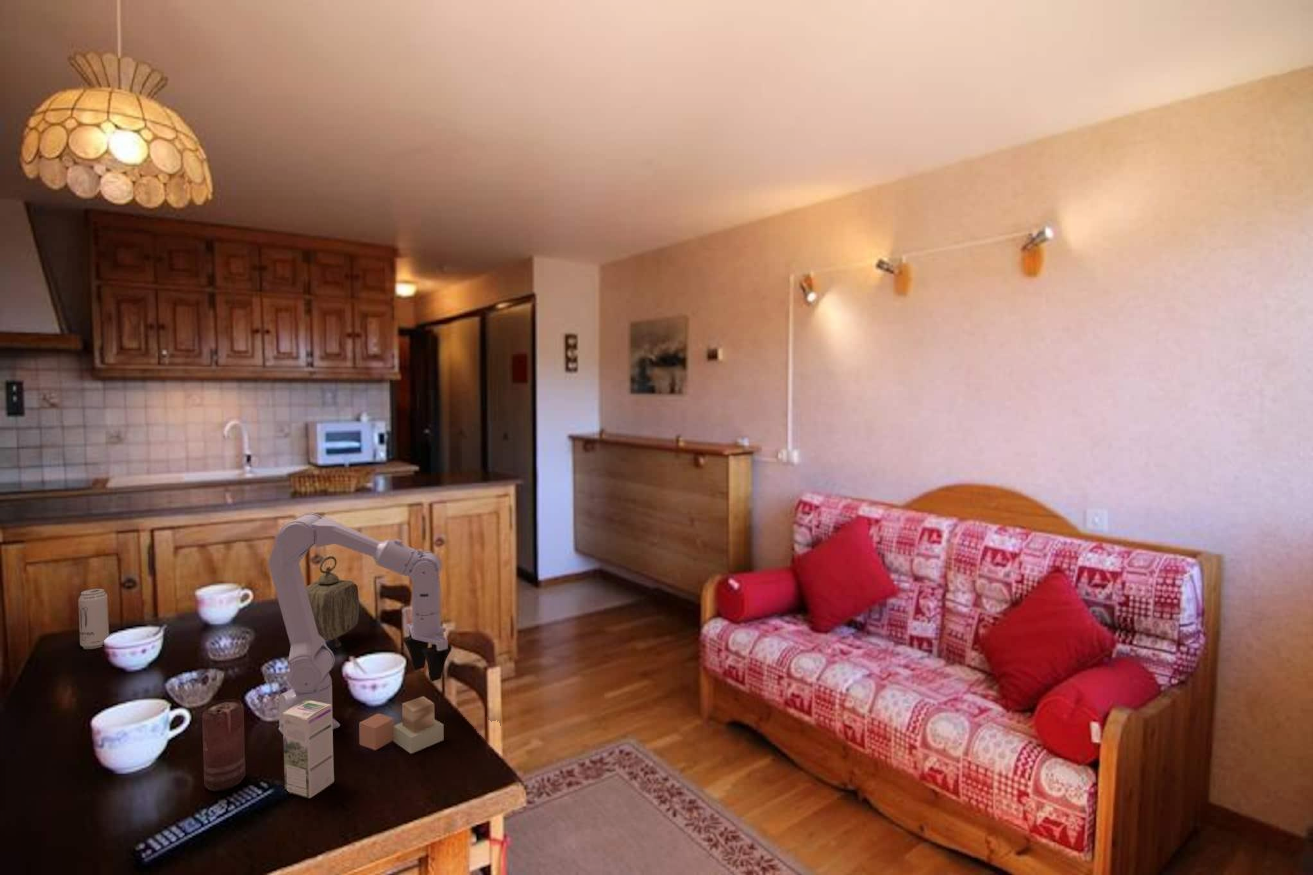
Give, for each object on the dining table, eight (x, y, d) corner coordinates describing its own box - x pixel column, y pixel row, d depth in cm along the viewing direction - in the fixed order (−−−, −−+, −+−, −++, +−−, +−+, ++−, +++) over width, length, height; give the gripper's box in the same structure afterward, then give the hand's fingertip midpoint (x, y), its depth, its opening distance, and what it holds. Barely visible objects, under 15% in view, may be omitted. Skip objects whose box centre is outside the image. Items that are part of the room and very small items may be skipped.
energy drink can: (74, 648, 179) (72, 593, 178) (99, 640, 185) (96, 587, 184) (90, 651, 177) (88, 595, 176) (114, 643, 183) (112, 589, 182)
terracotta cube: (375, 750, 130) (375, 728, 130) (359, 744, 132) (359, 722, 132) (394, 740, 134) (393, 718, 134) (378, 734, 136) (378, 713, 136)
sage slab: (411, 755, 129) (411, 737, 129) (393, 742, 134) (392, 725, 133) (443, 741, 134) (443, 724, 134) (425, 729, 139) (425, 713, 139)
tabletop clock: (332, 637, 190) (330, 550, 188) (361, 639, 189) (360, 551, 187) (298, 656, 176) (296, 562, 174) (329, 658, 174) (328, 564, 173)
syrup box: (335, 781, 119) (334, 702, 118) (308, 800, 114) (306, 717, 113) (310, 775, 121) (309, 697, 120) (282, 793, 116) (281, 712, 115)
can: (215, 796, 114) (213, 717, 114) (197, 784, 118) (195, 707, 117) (252, 779, 120) (250, 703, 119) (234, 768, 123) (232, 694, 122)
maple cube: (413, 733, 130) (412, 710, 130) (402, 725, 134) (402, 703, 133) (434, 725, 134) (434, 703, 133) (423, 717, 137) (423, 696, 137)
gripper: (460, 615, 139) (461, 679, 140) (428, 599, 149) (429, 659, 150) (428, 623, 134) (429, 689, 135) (397, 606, 144) (398, 667, 145)
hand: (427, 674), depth 142 cm, fingers open, 7 cm apart
